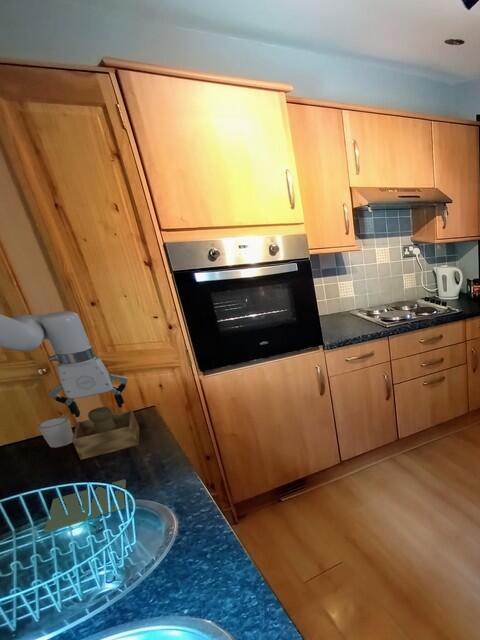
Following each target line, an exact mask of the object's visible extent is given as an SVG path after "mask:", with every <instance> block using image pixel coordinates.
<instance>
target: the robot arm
mask: <svg viewBox="0 0 480 640" xmlns="http://www.w3.org/2000/svg"><path fill="white" fill-rule="evenodd" d="M44 340H48V341H49V343H50V345H51V347H52V349H53V351H54V354H53V355H50V356H49V360H50V362H54V361H55V362H58V363H57V365H56V372H57V375H58V378H59V382H60V384H59V385H57V386H56V387H53V389H51V390H49V391H48V393H47V396H48V397H50V398H52V399H53V400H55V401H56V402H59V403H61V404H64V405H65V406H67V407H68V409H69V412H70V413H71V415H74V416H75V418H79V417H80V415H81V411H80V409H79V406H78V405H77V401H75V399H82V398H86V397H91V396H96V395H101V394H105V393H108V392H110V393H112V394H113V397H114V399H115V402H116V405H117V408H120V409H122V408H123V404H125V400H124V397H123V396H122V393H123V391H124V390H125V389H126V385H127V383H128V379H129V378H128V377H127V376H122V375H118V374H117V375H116V374H111V373H110V372H109V371H108V369H107V367H106V365H105V364H104V362H103V361H102V359H101V358H100V356H98V355H96V354H95V352H94V349H93V347H92V344H91V342H90V340H89V338H88V334H87V332H86V330H85V327H84V325H83V323H82V320H81V318H80V316H79V314H78V313H76V311H72V310H71V311H70V310H61V311H55V312H54V311H53V312H49V313H45V314H43V313H42V314H19V315H14V316H12V317H9V316H6V315H4V314H1V313H0V348H3V349H6V350H10V351H15V352H30V351H33V350H35V349H37V348H39V347H40V346H41V344H42V343H43V341H44ZM113 381H117V382H120V384H119V385H118V386H115V385H114V382H113ZM61 391H63V392H64V394H65V396H66V397H65V396H62V395H60V394H59V393H60V392H61Z"/></svg>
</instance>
